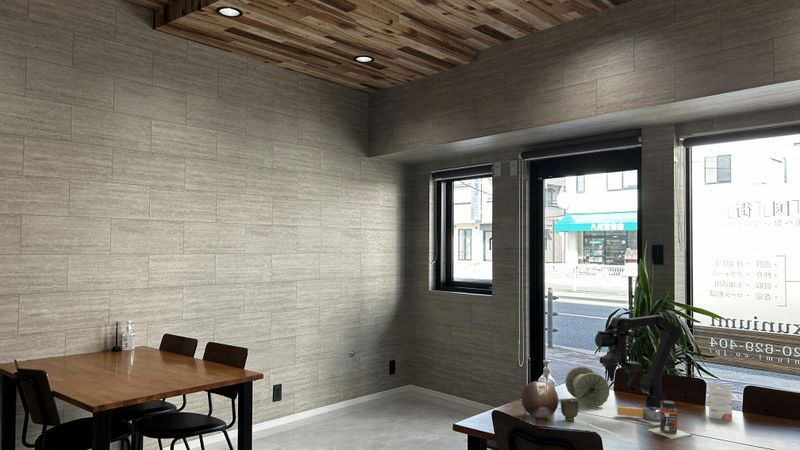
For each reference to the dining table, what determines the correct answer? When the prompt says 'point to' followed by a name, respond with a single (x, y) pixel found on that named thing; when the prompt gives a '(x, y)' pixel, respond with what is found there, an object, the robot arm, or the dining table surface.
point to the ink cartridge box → (720, 401)
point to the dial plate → (646, 420)
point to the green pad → (671, 436)
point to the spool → (587, 387)
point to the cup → (569, 409)
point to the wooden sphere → (540, 399)
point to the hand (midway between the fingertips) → (620, 383)
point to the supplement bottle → (668, 417)
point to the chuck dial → (641, 412)
